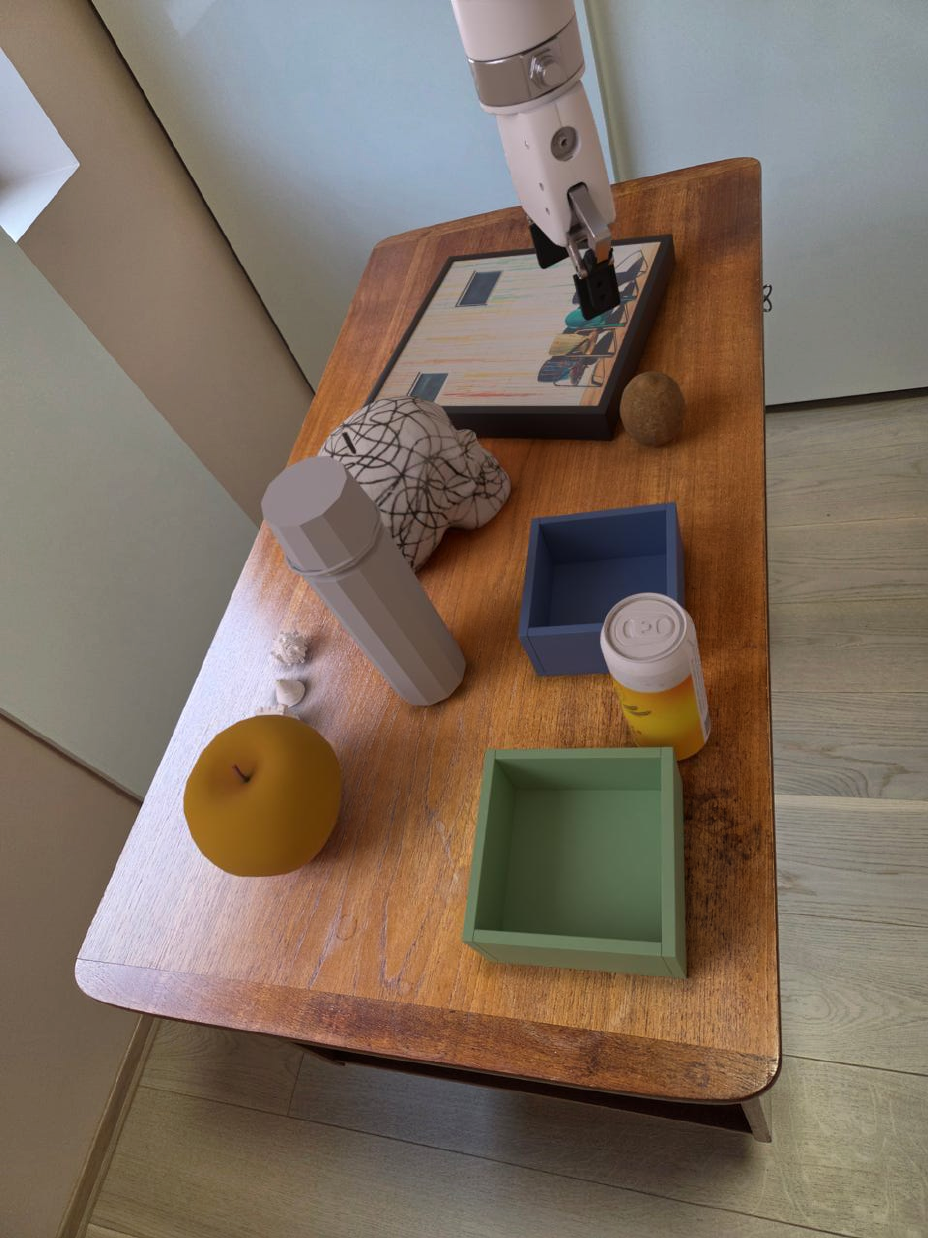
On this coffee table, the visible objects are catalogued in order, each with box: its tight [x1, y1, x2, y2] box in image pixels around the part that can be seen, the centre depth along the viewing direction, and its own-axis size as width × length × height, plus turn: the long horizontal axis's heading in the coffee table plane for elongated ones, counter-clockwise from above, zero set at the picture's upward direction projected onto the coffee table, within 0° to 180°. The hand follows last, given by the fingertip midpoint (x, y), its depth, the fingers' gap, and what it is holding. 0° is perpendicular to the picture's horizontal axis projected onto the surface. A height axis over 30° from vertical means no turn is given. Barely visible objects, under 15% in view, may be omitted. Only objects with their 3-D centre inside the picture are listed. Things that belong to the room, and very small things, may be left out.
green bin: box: [461, 746, 687, 979], centre depth 54 cm, size 14×14×7 cm
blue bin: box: [517, 501, 686, 677], centre depth 67 cm, size 13×13×7 cm
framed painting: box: [360, 233, 677, 442], centre depth 93 cm, size 30×4×30 cm
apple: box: [182, 714, 344, 878], centre depth 63 cm, size 13×13×11 cm
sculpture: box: [315, 396, 512, 574], centre depth 77 cm, size 15×20×15 cm
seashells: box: [254, 628, 308, 721], centre depth 75 cm, size 12×3×3 cm, turn 179°
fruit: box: [620, 370, 686, 448], centre depth 76 cm, size 6×6×8 cm
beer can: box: [600, 593, 712, 762], centre depth 55 cm, size 6×6×15 cm
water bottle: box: [260, 456, 467, 707], centre depth 63 cm, size 9×8×25 cm
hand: (578, 285), depth 66 cm, fingers open, 9 cm apart
